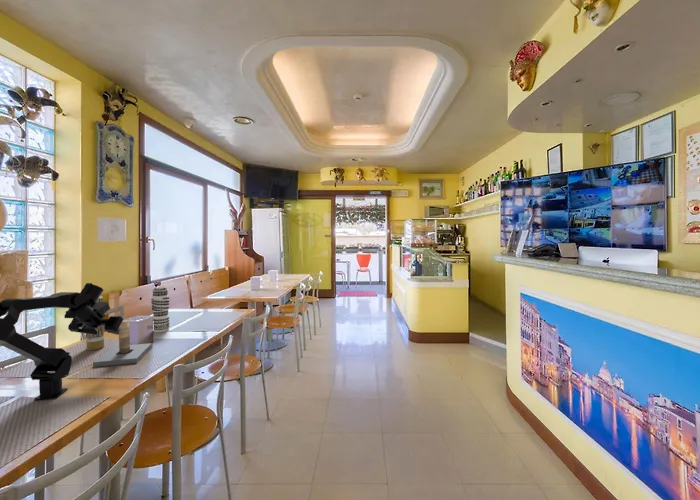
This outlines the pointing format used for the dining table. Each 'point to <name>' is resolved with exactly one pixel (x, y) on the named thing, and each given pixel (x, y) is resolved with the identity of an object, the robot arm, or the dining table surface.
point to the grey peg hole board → (122, 355)
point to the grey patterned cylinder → (98, 339)
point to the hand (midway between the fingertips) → (107, 333)
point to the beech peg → (124, 338)
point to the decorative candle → (160, 309)
